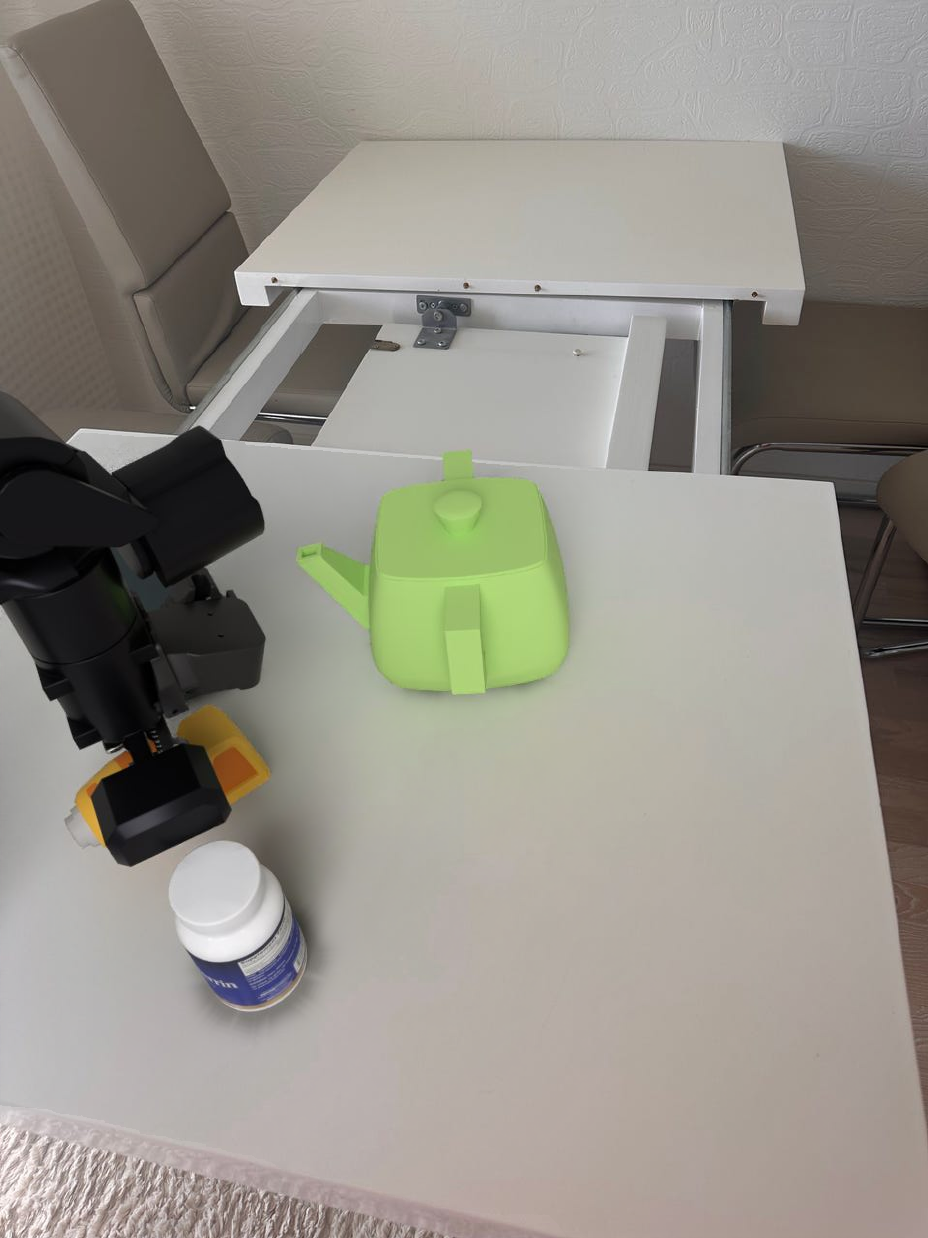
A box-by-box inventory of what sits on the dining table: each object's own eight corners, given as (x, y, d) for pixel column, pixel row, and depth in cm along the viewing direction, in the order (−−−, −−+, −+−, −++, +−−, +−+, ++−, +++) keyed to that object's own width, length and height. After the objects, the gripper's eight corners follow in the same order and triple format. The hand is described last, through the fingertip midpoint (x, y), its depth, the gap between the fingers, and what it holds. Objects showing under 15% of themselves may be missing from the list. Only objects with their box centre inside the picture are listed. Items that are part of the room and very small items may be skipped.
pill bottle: (191, 970, 55) (134, 885, 48) (267, 900, 58) (225, 810, 50) (252, 1037, 52) (201, 956, 45) (329, 960, 55) (293, 873, 48)
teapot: (313, 756, 65) (269, 624, 56) (333, 560, 79) (301, 428, 70) (582, 737, 64) (584, 600, 55) (555, 542, 78) (552, 407, 69)
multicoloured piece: (107, 889, 57) (277, 776, 62) (71, 841, 53) (256, 724, 58) (72, 830, 60) (237, 727, 65) (36, 781, 56) (214, 675, 61)
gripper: (290, 675, 45) (345, 848, 56) (180, 478, 57) (243, 652, 68) (57, 777, 42) (164, 939, 53) (-8, 546, 54) (90, 717, 65)
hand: (171, 795), depth 60 cm, fingers closed on multicoloured piece, 5 cm apart
